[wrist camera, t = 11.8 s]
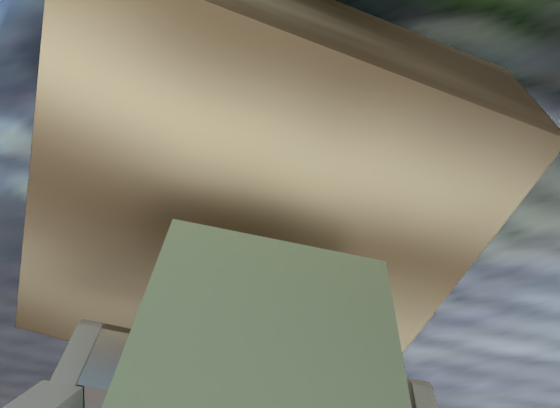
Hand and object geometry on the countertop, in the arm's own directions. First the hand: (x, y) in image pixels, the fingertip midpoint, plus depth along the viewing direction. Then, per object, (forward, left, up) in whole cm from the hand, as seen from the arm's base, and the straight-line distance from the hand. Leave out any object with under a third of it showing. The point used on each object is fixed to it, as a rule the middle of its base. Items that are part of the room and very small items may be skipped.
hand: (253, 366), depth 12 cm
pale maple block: (+1, +1, -8) cm, 8 cm away
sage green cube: (0, 0, -2) cm, 2 cm away
